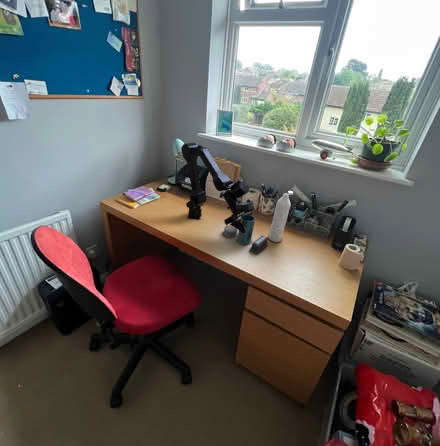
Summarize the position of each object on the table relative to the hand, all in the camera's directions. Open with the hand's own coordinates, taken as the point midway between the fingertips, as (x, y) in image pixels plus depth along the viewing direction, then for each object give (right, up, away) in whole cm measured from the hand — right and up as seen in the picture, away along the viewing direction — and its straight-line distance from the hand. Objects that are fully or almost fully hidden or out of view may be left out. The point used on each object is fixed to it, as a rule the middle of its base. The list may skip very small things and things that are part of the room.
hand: (248, 230), depth 117 cm
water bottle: (+15, -4, +9) cm, 18 cm away
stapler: (+5, -8, 0) cm, 10 cm away
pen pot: (-2, -5, +4) cm, 7 cm away
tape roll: (-8, -2, +8) cm, 12 cm away
